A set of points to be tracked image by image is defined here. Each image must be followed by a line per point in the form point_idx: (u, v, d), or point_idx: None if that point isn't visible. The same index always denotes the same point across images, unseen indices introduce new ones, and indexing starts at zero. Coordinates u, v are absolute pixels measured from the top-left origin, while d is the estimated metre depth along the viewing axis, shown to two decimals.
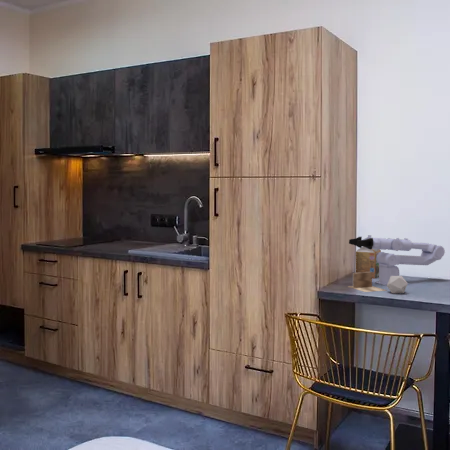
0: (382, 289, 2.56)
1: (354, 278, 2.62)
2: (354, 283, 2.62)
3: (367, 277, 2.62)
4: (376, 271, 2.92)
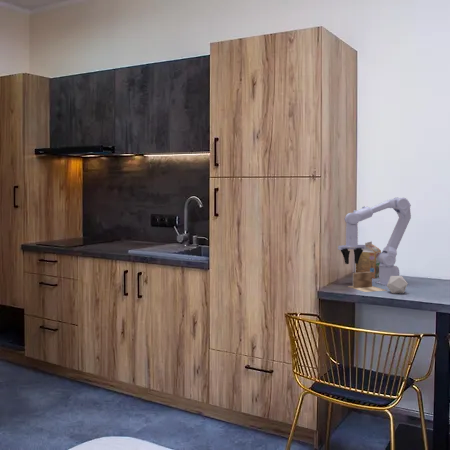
0: (382, 289, 2.56)
1: (354, 278, 2.62)
2: (354, 283, 2.62)
3: (367, 277, 2.62)
4: (376, 271, 2.92)
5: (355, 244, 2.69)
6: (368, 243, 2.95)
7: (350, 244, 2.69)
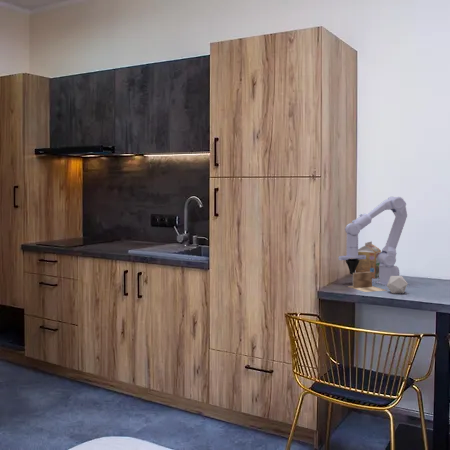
0: (382, 289, 2.56)
1: (354, 278, 2.62)
2: (354, 283, 2.62)
3: (367, 277, 2.62)
4: (376, 271, 2.92)
5: (356, 255, 2.69)
6: (368, 243, 2.95)
7: (350, 255, 2.69)
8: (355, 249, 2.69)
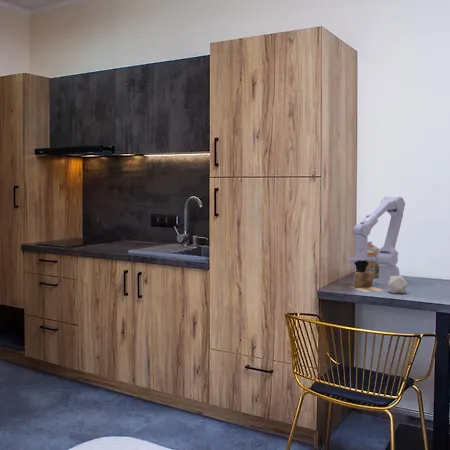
0: (382, 289, 2.56)
1: (355, 278, 2.60)
2: (354, 282, 2.61)
3: (368, 278, 2.61)
4: (376, 271, 2.92)
5: (365, 256, 2.61)
6: (368, 243, 2.95)
7: (360, 256, 2.61)
8: (364, 251, 2.61)
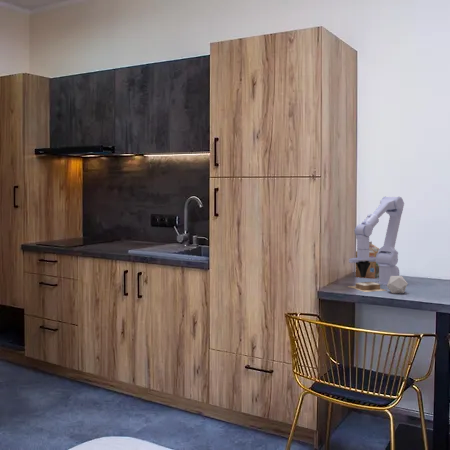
0: (382, 289, 2.56)
1: (360, 287, 2.56)
2: (358, 286, 2.59)
3: None
4: (376, 271, 2.92)
5: (367, 257, 2.59)
6: None
7: (361, 257, 2.59)
8: (366, 251, 2.59)
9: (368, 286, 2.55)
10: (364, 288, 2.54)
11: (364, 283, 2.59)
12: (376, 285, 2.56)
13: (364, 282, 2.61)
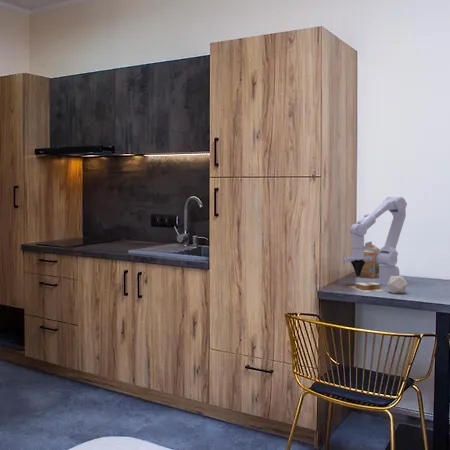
0: (382, 289, 2.56)
1: (360, 287, 2.56)
2: (358, 286, 2.59)
3: None
4: (376, 271, 2.92)
5: (361, 256, 2.64)
6: (368, 243, 2.95)
7: (356, 256, 2.64)
8: (361, 250, 2.64)
9: (368, 286, 2.55)
10: (364, 288, 2.54)
11: (364, 283, 2.59)
12: (376, 285, 2.56)
13: (364, 282, 2.61)
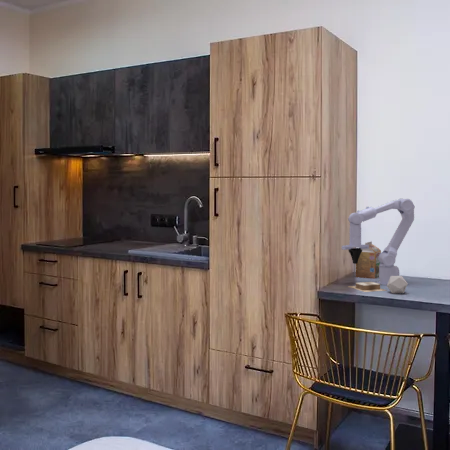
0: (382, 289, 2.56)
1: (360, 287, 2.56)
2: (358, 286, 2.59)
3: None
4: (376, 271, 2.92)
5: (359, 244, 2.70)
6: (368, 243, 2.95)
7: (354, 244, 2.70)
8: (358, 238, 2.69)
9: (368, 286, 2.55)
10: (364, 288, 2.54)
11: (364, 283, 2.59)
12: (376, 285, 2.56)
13: (364, 282, 2.61)
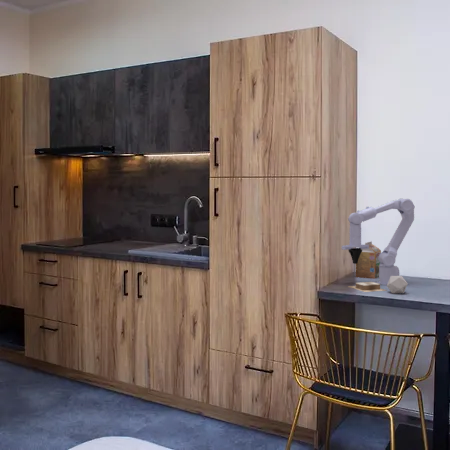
0: (382, 289, 2.56)
1: (360, 287, 2.56)
2: (358, 286, 2.59)
3: None
4: (376, 271, 2.92)
5: (359, 244, 2.70)
6: (368, 243, 2.95)
7: (354, 244, 2.70)
8: (358, 238, 2.69)
9: (368, 286, 2.55)
10: (364, 288, 2.54)
11: (364, 283, 2.59)
12: (376, 285, 2.56)
13: (364, 282, 2.61)
